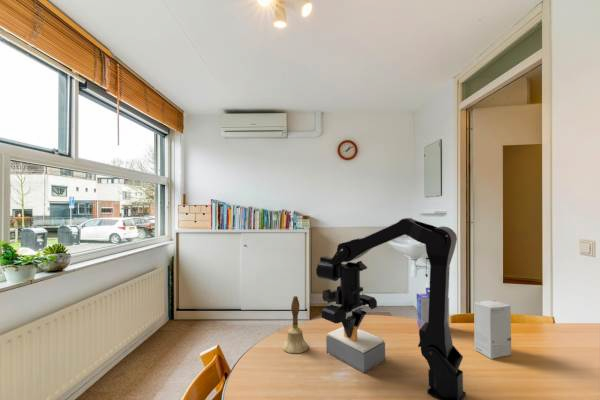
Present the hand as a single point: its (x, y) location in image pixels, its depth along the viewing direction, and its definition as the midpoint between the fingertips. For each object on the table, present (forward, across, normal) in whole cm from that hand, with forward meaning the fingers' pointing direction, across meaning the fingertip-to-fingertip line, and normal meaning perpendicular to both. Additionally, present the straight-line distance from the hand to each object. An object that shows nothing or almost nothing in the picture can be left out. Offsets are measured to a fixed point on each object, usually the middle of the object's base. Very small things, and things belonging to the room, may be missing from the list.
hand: (350, 336), depth 84 cm
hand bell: (+7, +8, -16) cm, 19 cm away
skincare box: (+7, -35, +26) cm, 44 cm away
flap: (+1, -2, 0) cm, 2 cm away
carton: (+6, -2, 0) cm, 7 cm away
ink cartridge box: (+7, -37, +7) cm, 38 cm away
